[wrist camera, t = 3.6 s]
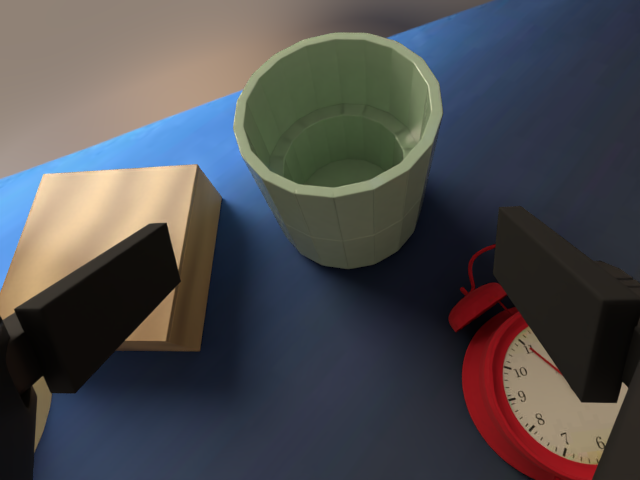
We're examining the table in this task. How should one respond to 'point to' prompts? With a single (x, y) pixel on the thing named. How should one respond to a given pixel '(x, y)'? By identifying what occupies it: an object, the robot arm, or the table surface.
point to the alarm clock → (526, 394)
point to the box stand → (111, 228)
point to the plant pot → (342, 144)
